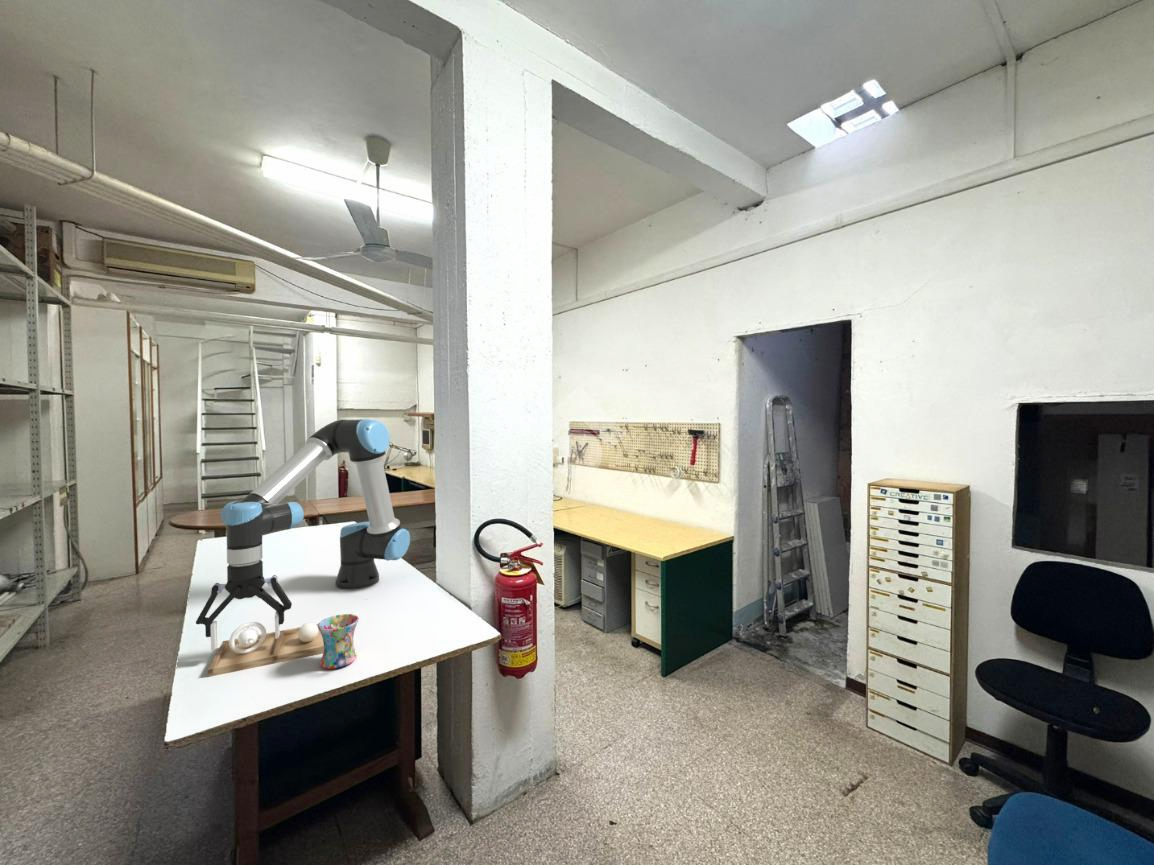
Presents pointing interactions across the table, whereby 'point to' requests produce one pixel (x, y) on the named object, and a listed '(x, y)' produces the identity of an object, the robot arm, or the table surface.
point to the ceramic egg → (308, 632)
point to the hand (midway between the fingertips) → (246, 642)
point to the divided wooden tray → (265, 652)
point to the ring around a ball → (247, 637)
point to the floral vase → (338, 640)
